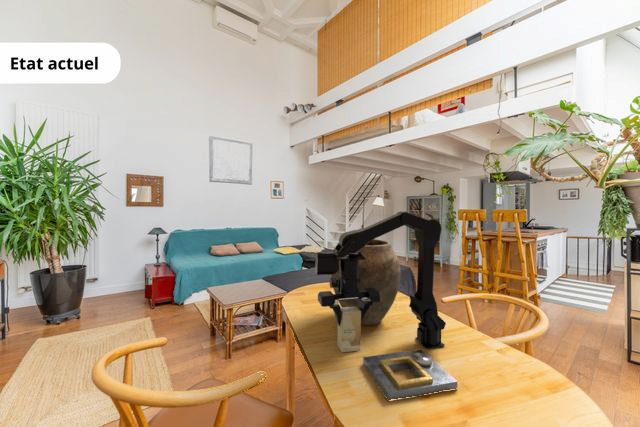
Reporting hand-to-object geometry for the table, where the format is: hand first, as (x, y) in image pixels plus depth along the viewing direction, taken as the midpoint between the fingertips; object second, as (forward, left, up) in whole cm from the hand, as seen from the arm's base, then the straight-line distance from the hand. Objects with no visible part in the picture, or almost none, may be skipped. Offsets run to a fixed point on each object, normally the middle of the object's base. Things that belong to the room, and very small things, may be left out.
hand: (349, 324), depth 85 cm
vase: (-13, -19, -8) cm, 24 cm away
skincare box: (0, 0, -8) cm, 8 cm away
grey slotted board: (-10, +16, -8) cm, 21 cm away
